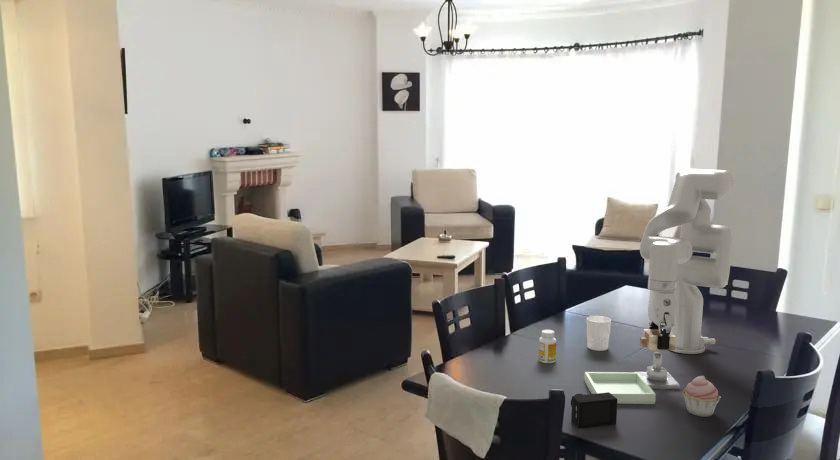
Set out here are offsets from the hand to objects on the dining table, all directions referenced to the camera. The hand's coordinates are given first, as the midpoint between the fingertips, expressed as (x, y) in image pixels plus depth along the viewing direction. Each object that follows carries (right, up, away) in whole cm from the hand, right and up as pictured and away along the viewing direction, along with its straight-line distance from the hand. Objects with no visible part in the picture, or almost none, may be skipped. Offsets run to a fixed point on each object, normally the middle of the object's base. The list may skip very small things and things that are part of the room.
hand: (658, 344), depth 191 cm
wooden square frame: (0, -1, 0) cm, 1 cm away
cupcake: (+4, -15, -18) cm, 24 cm away
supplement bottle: (-29, -9, +19) cm, 36 cm away
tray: (-13, -13, -5) cm, 19 cm away
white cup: (-9, -7, +32) cm, 34 cm away
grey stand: (0, -11, +2) cm, 12 cm away
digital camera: (-25, -16, -24) cm, 38 cm away
